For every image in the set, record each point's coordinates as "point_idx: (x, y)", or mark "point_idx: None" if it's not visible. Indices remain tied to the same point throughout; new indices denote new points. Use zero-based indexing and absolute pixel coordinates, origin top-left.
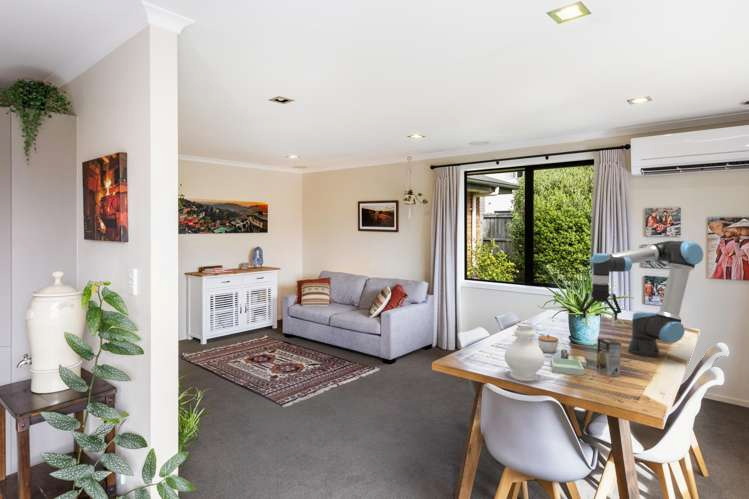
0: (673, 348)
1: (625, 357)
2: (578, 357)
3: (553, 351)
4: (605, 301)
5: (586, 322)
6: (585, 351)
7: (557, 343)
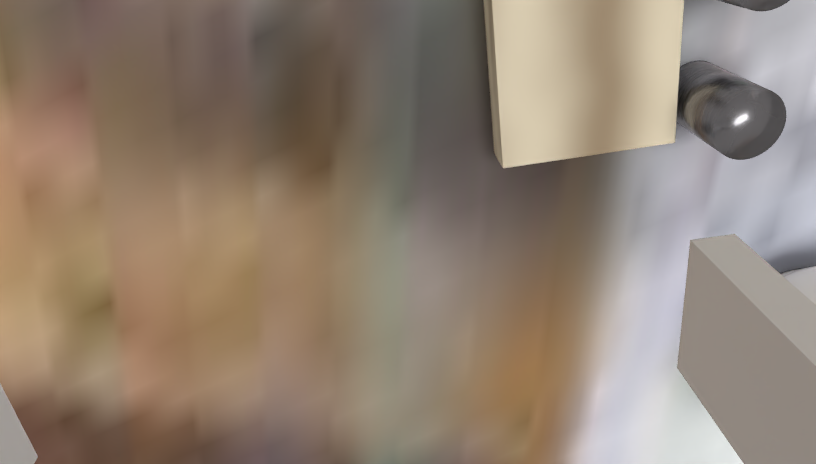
0: None
1: (113, 422)
2: (560, 109)
3: None
4: None
5: (753, 279)
6: (448, 447)
7: None
